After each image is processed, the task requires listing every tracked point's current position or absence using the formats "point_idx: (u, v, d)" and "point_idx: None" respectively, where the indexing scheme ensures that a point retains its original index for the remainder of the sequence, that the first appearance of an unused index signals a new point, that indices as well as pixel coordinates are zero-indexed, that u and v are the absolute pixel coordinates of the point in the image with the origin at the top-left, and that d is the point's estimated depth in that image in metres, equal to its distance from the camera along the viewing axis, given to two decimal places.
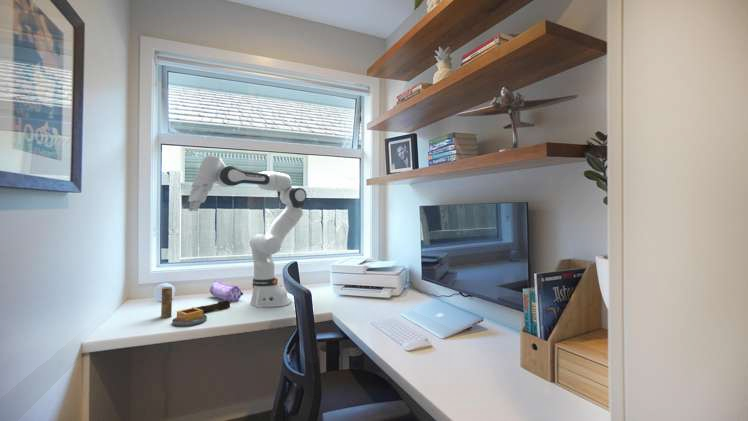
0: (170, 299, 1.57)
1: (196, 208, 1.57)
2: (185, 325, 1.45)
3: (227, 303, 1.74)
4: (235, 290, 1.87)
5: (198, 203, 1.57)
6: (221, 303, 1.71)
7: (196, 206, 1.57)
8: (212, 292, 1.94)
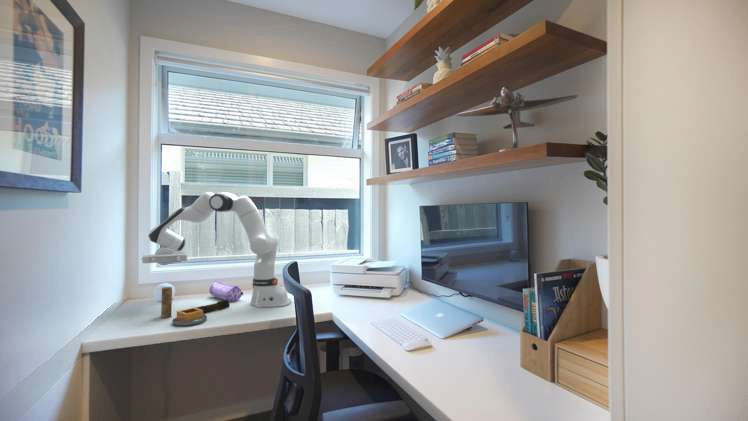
0: (170, 299, 1.58)
1: None
2: (185, 325, 1.45)
3: (226, 303, 1.74)
4: (235, 290, 1.88)
5: (150, 259, 1.68)
6: (221, 303, 1.71)
7: (152, 260, 1.67)
8: (212, 292, 1.93)
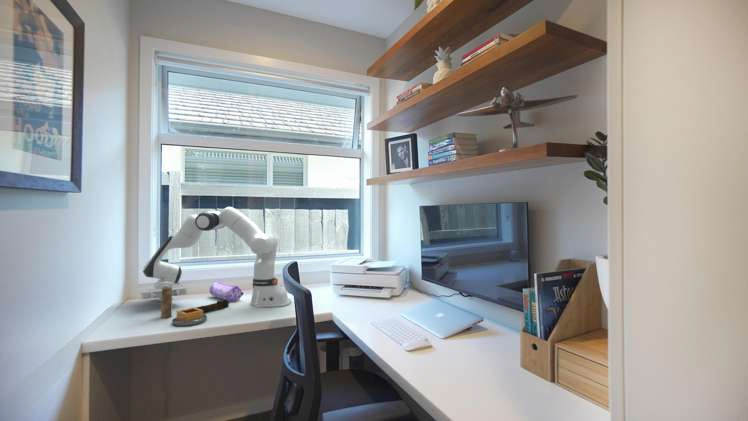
0: (170, 299, 1.57)
1: (152, 295, 1.65)
2: (185, 325, 1.45)
3: (226, 302, 1.75)
4: (236, 290, 1.88)
5: (150, 295, 1.67)
6: (220, 303, 1.72)
7: (151, 296, 1.66)
8: (212, 292, 1.93)
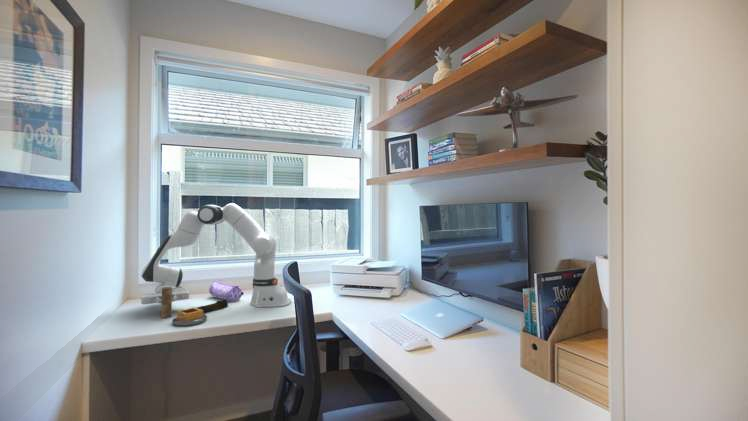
0: (170, 299, 1.58)
1: (158, 300, 1.57)
2: (185, 325, 1.45)
3: (225, 302, 1.75)
4: (236, 290, 1.88)
5: (155, 299, 1.58)
6: (220, 302, 1.72)
7: (157, 300, 1.57)
8: (212, 292, 1.93)
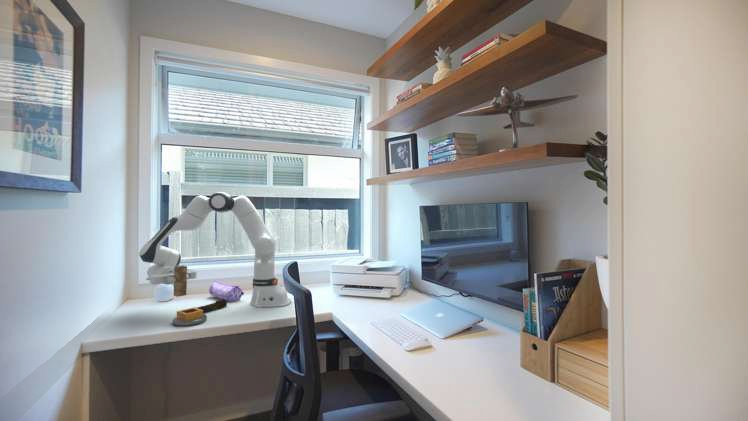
0: (185, 277, 1.58)
1: (172, 279, 1.55)
2: (185, 325, 1.45)
3: (224, 302, 1.76)
4: (236, 290, 1.88)
5: (167, 279, 1.56)
6: (219, 302, 1.72)
7: (170, 279, 1.55)
8: (212, 292, 1.93)
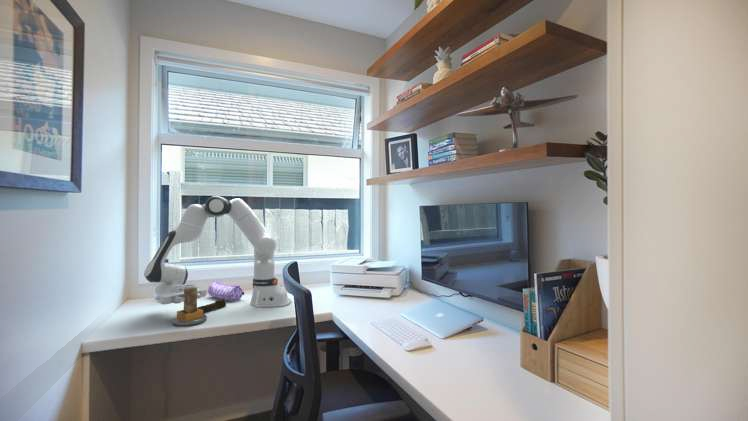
0: (195, 299, 1.52)
1: (180, 299, 1.48)
2: (185, 325, 1.45)
3: (224, 302, 1.76)
4: (237, 290, 1.88)
5: (175, 299, 1.49)
6: (219, 302, 1.73)
7: (178, 299, 1.49)
8: (211, 292, 1.92)
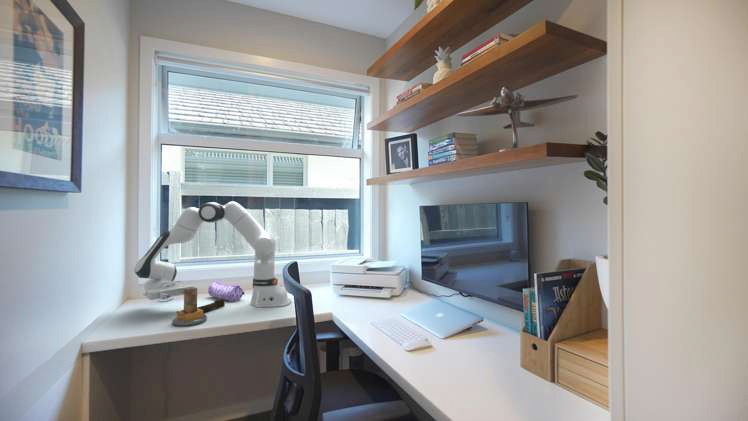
0: (195, 299, 1.52)
1: (164, 295, 1.54)
2: (185, 325, 1.45)
3: (223, 302, 1.76)
4: (237, 290, 1.88)
5: (159, 295, 1.55)
6: (218, 302, 1.73)
7: (163, 295, 1.55)
8: (211, 292, 1.92)
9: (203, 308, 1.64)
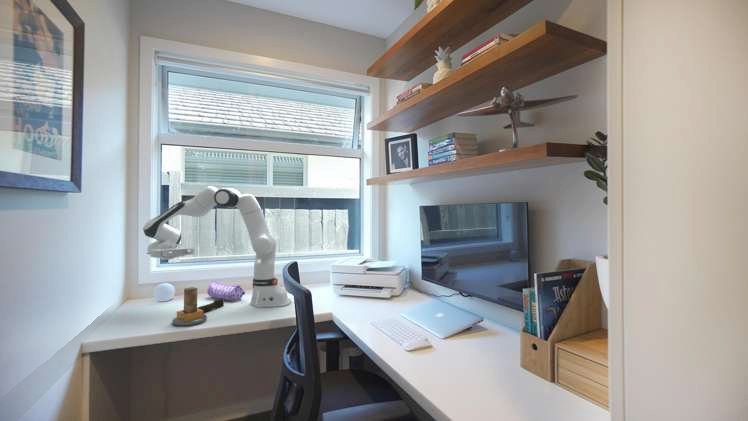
0: (195, 299, 1.52)
1: (167, 253, 1.62)
2: (185, 325, 1.45)
3: (222, 302, 1.77)
4: (238, 289, 1.89)
5: (162, 253, 1.63)
6: (218, 302, 1.73)
7: (165, 254, 1.62)
8: (211, 293, 1.92)
9: (203, 308, 1.64)
